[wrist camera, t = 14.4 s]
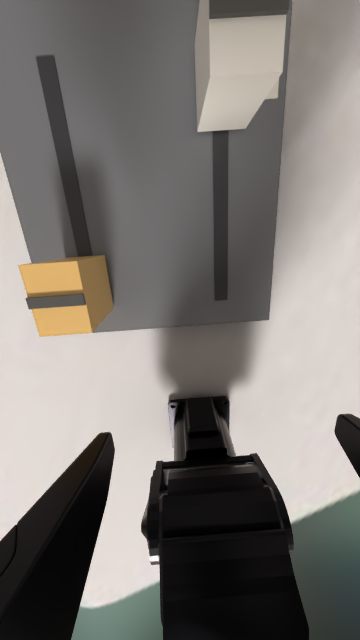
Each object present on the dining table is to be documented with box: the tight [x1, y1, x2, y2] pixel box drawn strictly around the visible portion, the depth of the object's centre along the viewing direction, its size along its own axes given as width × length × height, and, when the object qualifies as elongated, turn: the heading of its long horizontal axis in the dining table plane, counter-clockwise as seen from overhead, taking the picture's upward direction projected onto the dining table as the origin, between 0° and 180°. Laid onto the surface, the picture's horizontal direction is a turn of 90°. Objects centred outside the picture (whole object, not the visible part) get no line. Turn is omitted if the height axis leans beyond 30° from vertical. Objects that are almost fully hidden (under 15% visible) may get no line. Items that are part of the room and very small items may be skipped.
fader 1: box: [18, 255, 114, 337], centre depth 14 cm, size 4×3×5 cm
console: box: [0, 0, 292, 333], centre depth 16 cm, size 21×18×3 cm
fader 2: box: [195, 0, 290, 132], centre depth 11 cm, size 4×3×5 cm
